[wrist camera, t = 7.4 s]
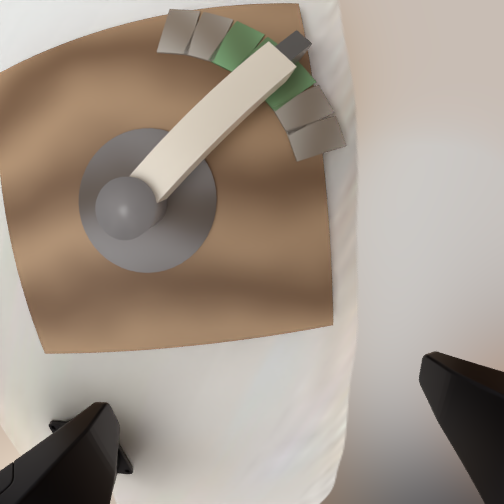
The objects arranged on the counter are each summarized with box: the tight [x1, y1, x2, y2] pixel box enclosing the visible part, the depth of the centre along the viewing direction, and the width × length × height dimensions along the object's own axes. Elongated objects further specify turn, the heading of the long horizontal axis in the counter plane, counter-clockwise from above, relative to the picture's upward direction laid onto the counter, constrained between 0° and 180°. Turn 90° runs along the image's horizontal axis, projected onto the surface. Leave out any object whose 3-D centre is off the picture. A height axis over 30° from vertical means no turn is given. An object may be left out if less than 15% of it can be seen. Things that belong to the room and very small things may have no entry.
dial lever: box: [95, 30, 312, 240], centre depth 14 cm, size 13×3×3 cm, turn 135°
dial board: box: [0, 3, 346, 354], centre depth 17 cm, size 20×21×1 cm
